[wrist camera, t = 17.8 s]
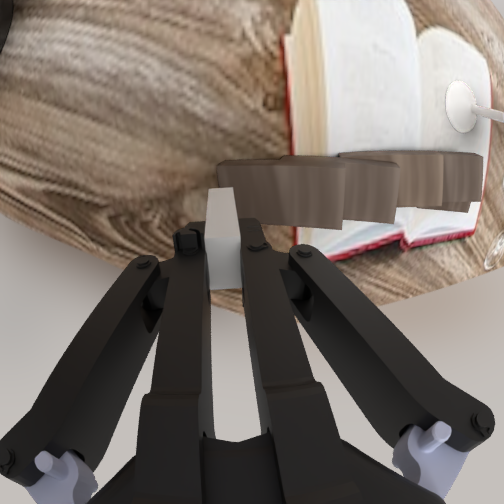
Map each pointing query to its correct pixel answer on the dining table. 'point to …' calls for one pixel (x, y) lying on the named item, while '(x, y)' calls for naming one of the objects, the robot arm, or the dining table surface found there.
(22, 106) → the dining table surface
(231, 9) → the dining table surface
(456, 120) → the champagne flute
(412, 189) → the domino
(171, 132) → the dining table surface
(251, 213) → the domino
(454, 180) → the domino
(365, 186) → the domino
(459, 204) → the domino
